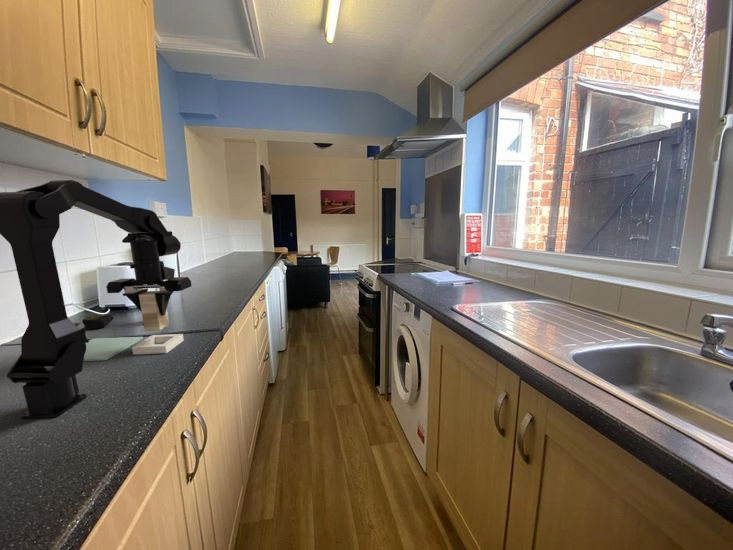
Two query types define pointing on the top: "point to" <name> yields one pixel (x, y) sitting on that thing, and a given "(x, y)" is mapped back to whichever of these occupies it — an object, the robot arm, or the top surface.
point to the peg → (152, 312)
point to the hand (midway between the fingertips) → (155, 315)
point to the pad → (107, 347)
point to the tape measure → (97, 321)
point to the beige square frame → (152, 348)
